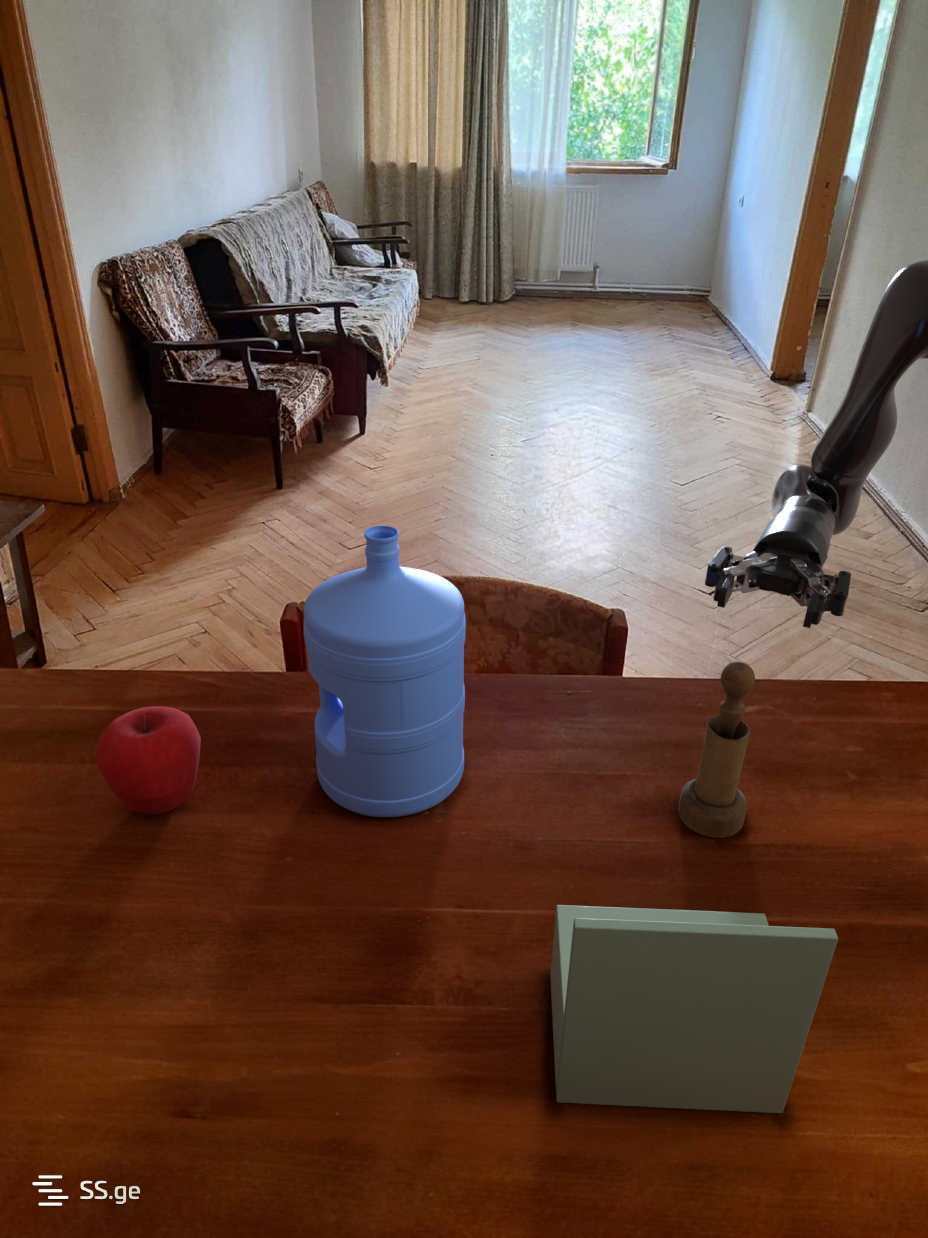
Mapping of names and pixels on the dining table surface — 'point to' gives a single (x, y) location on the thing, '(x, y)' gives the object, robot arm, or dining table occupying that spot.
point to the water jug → (387, 683)
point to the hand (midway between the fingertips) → (764, 609)
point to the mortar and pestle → (721, 763)
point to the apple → (150, 758)
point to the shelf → (682, 1006)
